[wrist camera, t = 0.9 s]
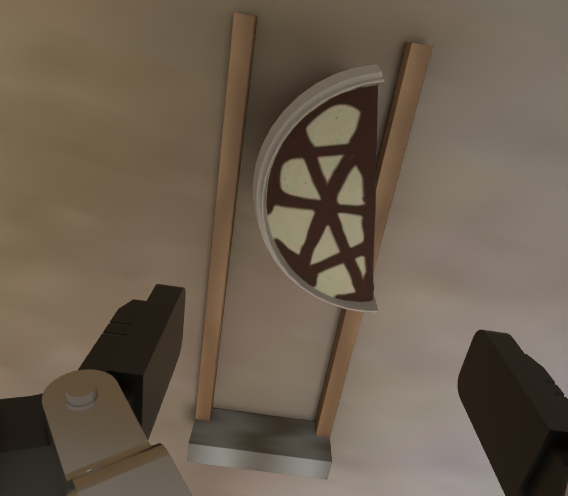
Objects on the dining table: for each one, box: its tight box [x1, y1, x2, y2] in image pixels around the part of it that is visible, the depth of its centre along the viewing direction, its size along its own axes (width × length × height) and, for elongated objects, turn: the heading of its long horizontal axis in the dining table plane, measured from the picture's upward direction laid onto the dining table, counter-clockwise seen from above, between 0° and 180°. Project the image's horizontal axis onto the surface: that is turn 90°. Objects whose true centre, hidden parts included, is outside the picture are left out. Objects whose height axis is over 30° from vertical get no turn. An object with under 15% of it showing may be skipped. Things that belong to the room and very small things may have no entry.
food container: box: [253, 64, 385, 312], centre depth 26 cm, size 12×6×10 cm, turn 3°
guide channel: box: [187, 12, 433, 480], centre depth 32 cm, size 11×32×4 cm, turn 171°
